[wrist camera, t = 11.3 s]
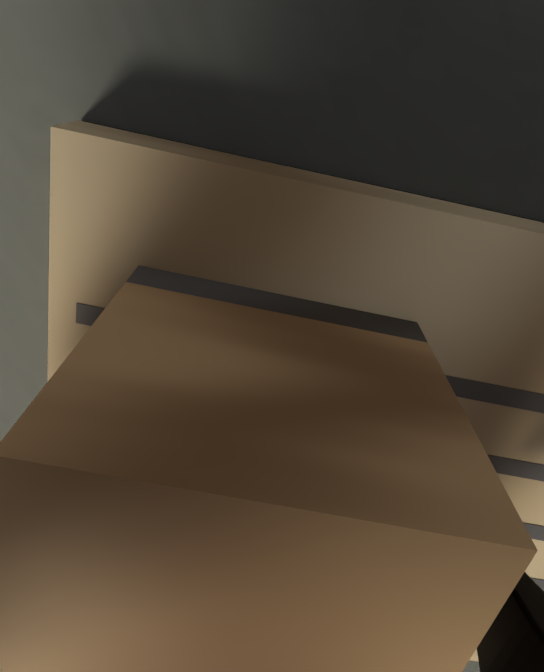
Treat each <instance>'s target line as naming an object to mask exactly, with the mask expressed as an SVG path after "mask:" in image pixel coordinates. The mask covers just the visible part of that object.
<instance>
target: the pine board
mask: <svg viewBox="0 0 544 672" xmlns="http://www.w3.org/2000/svg"><path fill="white" fill-rule="evenodd" d="M138 266H144V267H149V268H154V269H159V270H164V271H169V272H174V273H179V274H183V275H188V276H193V277H198V278H203V279H208V280H213V281H218V282H223V283H228V284H233V285H237V286H242V287H247V288H252V289H257V290H262V291H267V292H272V293H277V294H282V295H286V296H291V297H296V298H301V299H306V300H311V301H316V302H321V303H326V304H331V305H335V306H340V307H345V308H350V309H355V310H360V311H365V312H370V313H375V314H380V315H384V316H389V317H394V318H399V319H404V320H409V321H414V322H417V323H418V325H419V327H420V328H421V330H422V332H423V334H424V336H425V338H426V340H427V342H428V344H429V345H430V347H431V349H432V351H433V353H434V355H435V357H436V359H437V361H438V363H439V364H440V366H441V368H442V370H443V372H444V374H445V376H446V378H447V380H448V382H449V383H450V385H451V387H452V389H453V391H454V393H455V395H456V397H457V399H458V400H459V402H460V404H461V406H462V408H463V410H464V412H465V414H466V416H467V418H468V419H469V421H470V423H471V425H472V427H473V429H474V431H475V433H476V435H477V436H478V438H479V440H480V442H481V444H482V446H483V448H484V450H485V452H486V454H487V455H488V457H489V459H490V461H491V463H492V465H493V467H494V469H495V471H496V473H497V474H498V476H499V478H500V480H501V482H502V484H503V486H504V488H505V490H506V491H507V493H508V495H509V497H510V499H511V501H512V503H513V505H514V507H515V509H516V510H517V512H518V514H519V516H520V518H521V520H522V522H523V524H524V526H525V528H526V529H527V531H528V533H529V535H530V537H531V539H532V541H533V543H534V545H535V546H536V548H537V550H538V551H537V553H536V554H535V556H534V557H533V559H532V561H531V562H530V564H529V565H528V567H527V569H526V570H525V572H526V573H527V575H528V576H529V577H530V578H531V579H532V580H533V581H534V582H535V583H536V584H537V585H538V586H539V587H540V588H541V589H542V590H543V591H544V223H543V222H539V221H534V220H529V219H525V218H520V217H516V216H511V215H507V214H502V213H498V212H493V211H488V210H484V209H479V208H475V207H470V206H466V205H461V204H457V203H452V202H447V201H443V200H438V199H434V198H429V197H425V196H420V195H416V194H411V193H406V192H402V191H397V190H393V189H388V188H384V187H379V186H375V185H370V184H366V183H361V182H356V181H352V180H347V179H343V178H338V177H334V176H329V175H325V174H320V173H315V172H311V171H306V170H302V169H297V168H293V167H288V166H284V165H279V164H274V163H270V162H265V161H261V160H256V159H252V158H247V157H243V156H238V155H233V154H229V153H224V152H220V151H215V150H211V149H206V148H202V147H197V146H192V145H188V144H183V143H179V142H174V141H170V140H165V139H161V138H156V137H152V136H147V135H142V134H138V133H133V132H129V131H124V130H120V129H115V128H111V127H106V126H101V125H97V124H92V123H88V122H83V121H74V122H70V123H65V124H60V125H56V126H51V157H50V235H49V313H48V381H49V380H50V378H51V377H52V376H53V374H54V373H55V372H56V371H57V369H58V368H59V367H60V365H61V364H62V363H63V362H64V360H65V359H66V358H67V357H68V355H69V354H70V353H71V351H72V350H73V349H74V348H75V346H76V345H77V344H78V342H79V341H80V340H81V339H82V337H83V336H84V335H85V333H86V332H87V331H88V330H89V328H90V327H91V326H92V325H93V323H94V322H95V321H96V319H97V318H98V317H99V316H100V314H101V313H102V312H103V310H104V309H105V308H106V307H107V305H108V304H109V303H110V301H111V300H112V299H113V298H114V296H115V295H116V294H117V293H118V291H119V290H120V289H121V287H122V286H123V285H124V284H125V282H126V281H127V280H128V278H129V277H130V276H131V275H132V273H133V272H134V271H135V270H136V268H137V267H138ZM470 660H472V661H478V654H477V649H476V650H475V652H474V653H473V655H472V657H471V658H470ZM478 662H479V661H478Z"/></svg>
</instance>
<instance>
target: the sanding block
mask: <svg viewBox="0 0 544 672" xmlns="http://www.w3.org/2000/svg"><path fill="white" fill-rule="evenodd" d="M537 551H538V550H537V548H536V546H535V545H534V543H533V541H532V539H531V537H530V535H529V533H528V531H527V529H526V528H525V526H524V524H523V522H522V520H521V518H520V516H519V514H518V512H517V510H516V509H515V507H514V505H513V503H512V501H511V499H510V497H509V495H508V493H507V491H506V490H505V488H504V486H503V484H502V482H501V480H500V478H499V476H498V474H497V473H496V471H495V469H494V467H493V465H492V463H491V461H490V459H489V457H488V455H487V454H486V452H485V450H484V448H483V446H482V444H481V442H480V440H479V438H478V436H477V435H476V433H475V431H474V429H473V427H472V425H471V423H470V421H469V419H468V418H467V416H466V414H465V412H464V410H463V408H462V406H461V404H460V402H459V400H458V399H457V397H456V395H455V393H454V391H453V389H452V387H451V385H450V383H449V382H448V380H447V378H446V376H445V374H444V372H443V370H442V368H441V366H440V364H439V363H438V361H437V359H436V357H435V355H434V353H433V351H432V349H431V347H430V345H429V344H428V342H427V340H426V338H425V336H424V334H423V332H422V330H421V328H420V327H419V325H418V323H417V322H414V321H409V320H404V319H399V318H394V317H389V316H384V315H380V314H375V313H370V312H365V311H360V310H355V309H350V308H345V307H340V306H335V305H331V304H326V303H321V302H316V301H311V300H306V299H301V298H296V297H291V296H286V295H282V294H277V293H272V292H267V291H262V290H257V289H252V288H247V287H242V286H237V285H233V284H228V283H223V282H218V281H213V280H208V279H203V278H198V277H193V276H188V275H183V274H179V273H174V272H169V271H164V270H159V269H154V268H149V267H144V266H138V267H137V268H136V270H135V271H134V272H133V273H132V275H131V276H130V277H129V278H128V280H127V281H126V282H125V284H124V285H123V286H122V287H121V289H120V290H119V291H118V293H117V294H116V295H115V296H114V298H113V299H112V300H111V301H110V303H109V304H108V305H107V307H106V308H105V309H104V310H103V312H102V313H101V314H100V316H99V317H98V318H97V319H96V321H95V322H94V323H93V325H92V326H91V327H90V328H89V330H88V331H87V332H86V333H85V335H84V336H83V337H82V339H81V340H80V341H79V342H78V344H77V345H76V346H75V348H74V349H73V350H72V351H71V353H70V354H69V355H68V357H67V358H66V359H65V360H64V362H63V363H62V364H61V365H60V367H59V368H58V369H57V371H56V372H55V373H54V374H53V376H52V377H51V378H50V380H49V381H48V382H47V383H46V385H45V386H44V387H43V388H42V390H41V391H40V392H39V394H38V395H37V396H36V397H35V399H34V400H33V401H32V403H31V404H30V405H29V406H28V408H27V409H26V410H25V412H24V413H23V414H22V415H21V417H20V418H19V419H18V420H17V422H16V423H15V424H14V426H13V427H12V428H11V429H10V431H9V432H8V433H7V435H6V436H5V437H4V438H3V440H2V441H1V442H0V663H1V672H462V671H463V669H464V668H465V666H466V665H467V663H468V661H469V660H470V658H471V657H472V655H473V653H474V652H475V650H476V649H477V647H478V645H479V644H480V642H481V641H482V639H483V637H484V636H485V634H486V633H487V631H488V629H489V628H490V626H491V625H492V623H493V621H494V620H495V618H496V617H497V615H498V613H499V612H500V610H501V609H502V607H503V605H504V604H505V602H506V601H507V599H508V597H509V596H510V594H511V593H512V591H513V589H514V588H515V586H516V585H517V583H518V581H519V580H520V578H521V577H522V575H523V573H524V572H525V570H526V569H527V567H528V565H529V564H530V562H531V561H532V559H533V557H534V556H535V554H536V553H537Z"/></svg>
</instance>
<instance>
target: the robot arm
mask: <svg viewBox="0 0 544 672" xmlns="http://www.w3.org/2000/svg"><path fill="white" fill-rule="evenodd" d="M477 654H478V661H479V667H480V672H544V591H543V590H542V589H541V588H540V587H539V586H538V585H537V584H536V583H535V582H534V581H533V580H532V579H531V578H530V577H529V576H528V575H527V573H526V572H524V573H523V575H522V577H521V578H520V580H519V581H518V583H517V585H516V586H515V588H514V589H513V591H512V593H511V594H510V596H509V597H508V599H507V601H506V602H505V604H504V605H503V607H502V609H501V610H500V612H499V613H498V615H497V617H496V618H495V620H494V621H493V623H492V625H491V626H490V628H489V629H488V631H487V633H486V634H485V636H484V637H483V639H482V641H481V642H480V644H479V645H478V647H477Z"/></svg>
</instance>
